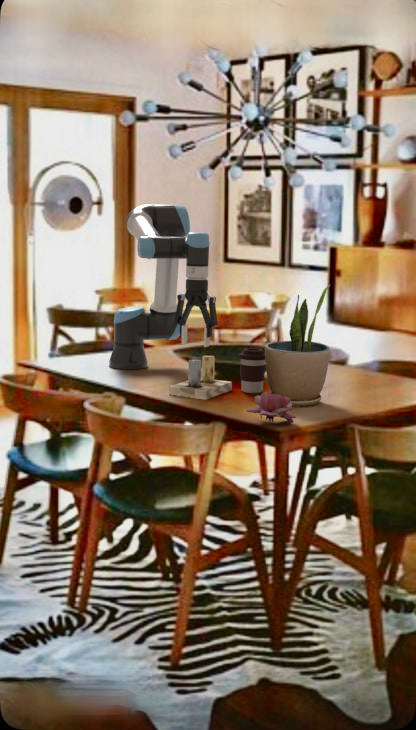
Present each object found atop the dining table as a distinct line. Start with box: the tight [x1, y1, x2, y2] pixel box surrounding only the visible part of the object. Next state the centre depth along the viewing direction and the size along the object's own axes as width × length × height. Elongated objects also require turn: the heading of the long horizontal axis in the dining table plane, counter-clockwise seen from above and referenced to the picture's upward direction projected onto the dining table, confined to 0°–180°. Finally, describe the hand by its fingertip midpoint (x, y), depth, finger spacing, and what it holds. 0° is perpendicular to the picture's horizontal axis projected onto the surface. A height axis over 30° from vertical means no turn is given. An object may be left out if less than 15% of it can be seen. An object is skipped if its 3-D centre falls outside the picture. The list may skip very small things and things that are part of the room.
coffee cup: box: [238, 347, 266, 394], centre depth 355 cm, size 10×10×15 cm
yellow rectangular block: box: [201, 355, 216, 384], centre depth 355 cm, size 4×4×12 cm
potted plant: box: [264, 284, 331, 408], centre depth 336 cm, size 21×22×40 cm
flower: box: [246, 391, 297, 425], centre depth 307 cm, size 15×15×10 cm
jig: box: [168, 377, 233, 401], centre depth 352 cm, size 20×14×3 cm
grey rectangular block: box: [187, 358, 202, 389], centre depth 346 cm, size 4×4×12 cm
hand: (195, 345), depth 344 cm, fingers open, 8 cm apart
